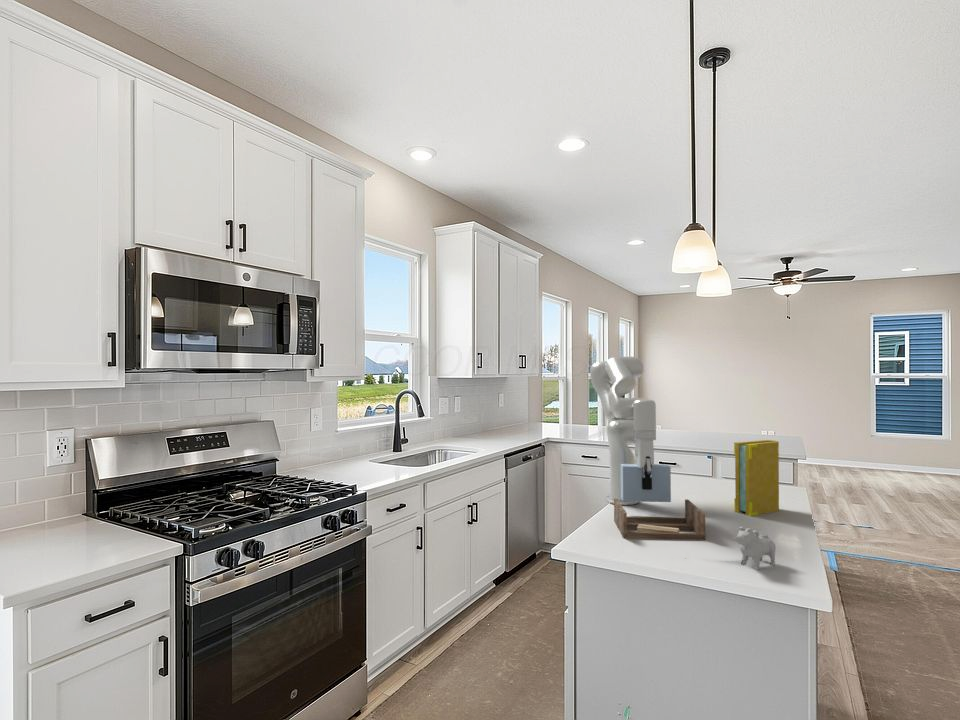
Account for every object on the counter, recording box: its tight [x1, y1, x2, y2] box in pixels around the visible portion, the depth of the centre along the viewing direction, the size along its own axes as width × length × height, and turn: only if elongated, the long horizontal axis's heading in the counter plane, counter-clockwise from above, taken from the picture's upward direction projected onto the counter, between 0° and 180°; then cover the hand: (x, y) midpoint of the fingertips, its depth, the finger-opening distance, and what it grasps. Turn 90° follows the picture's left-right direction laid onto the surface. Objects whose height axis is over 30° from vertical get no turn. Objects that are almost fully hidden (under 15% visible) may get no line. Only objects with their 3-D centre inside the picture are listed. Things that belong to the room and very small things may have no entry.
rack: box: [613, 498, 706, 541], centre depth 178 cm, size 18×24×9 cm
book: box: [733, 439, 780, 517], centre depth 205 cm, size 17×7×25 cm, turn 114°
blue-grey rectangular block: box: [620, 463, 672, 503], centre depth 196 cm, size 5×16×12 cm, turn 85°
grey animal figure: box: [734, 526, 776, 571], centre depth 151 cm, size 5×13×11 cm, turn 118°
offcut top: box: [636, 523, 680, 533], centre depth 174 cm, size 4×12×2 cm, turn 66°
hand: (645, 487), depth 196 cm, fingers closed on blue-grey rectangular block, 5 cm apart
